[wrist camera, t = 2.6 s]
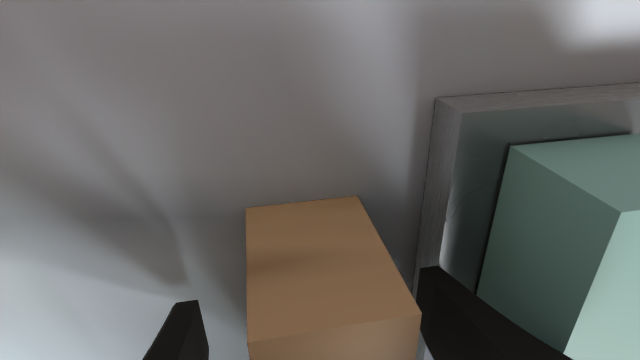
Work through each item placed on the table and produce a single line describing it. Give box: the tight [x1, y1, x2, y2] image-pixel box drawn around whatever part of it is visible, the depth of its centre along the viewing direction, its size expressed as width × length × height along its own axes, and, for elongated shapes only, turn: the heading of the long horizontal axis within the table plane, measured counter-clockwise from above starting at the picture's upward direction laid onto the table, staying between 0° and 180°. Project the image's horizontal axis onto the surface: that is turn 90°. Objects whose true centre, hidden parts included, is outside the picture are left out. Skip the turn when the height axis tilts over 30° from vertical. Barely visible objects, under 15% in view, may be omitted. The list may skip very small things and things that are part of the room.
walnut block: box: [246, 196, 422, 360], centre depth 11 cm, size 6×4×5 cm, turn 1°
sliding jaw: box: [476, 134, 640, 360], centre depth 11 cm, size 10×4×3 cm, turn 1°
